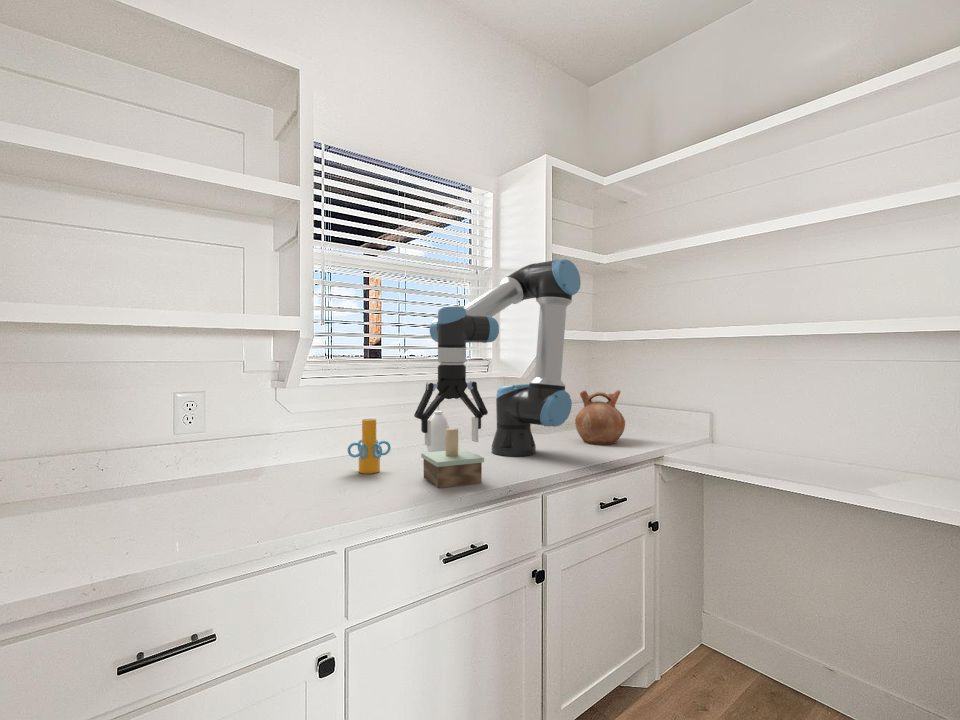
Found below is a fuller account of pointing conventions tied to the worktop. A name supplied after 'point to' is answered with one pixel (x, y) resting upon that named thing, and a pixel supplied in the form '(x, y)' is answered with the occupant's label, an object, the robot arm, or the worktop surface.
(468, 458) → the lid
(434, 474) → the box
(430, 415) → the robot arm
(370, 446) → the cylinder
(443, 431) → the sauce bottle
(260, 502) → the worktop surface
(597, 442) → the jug
